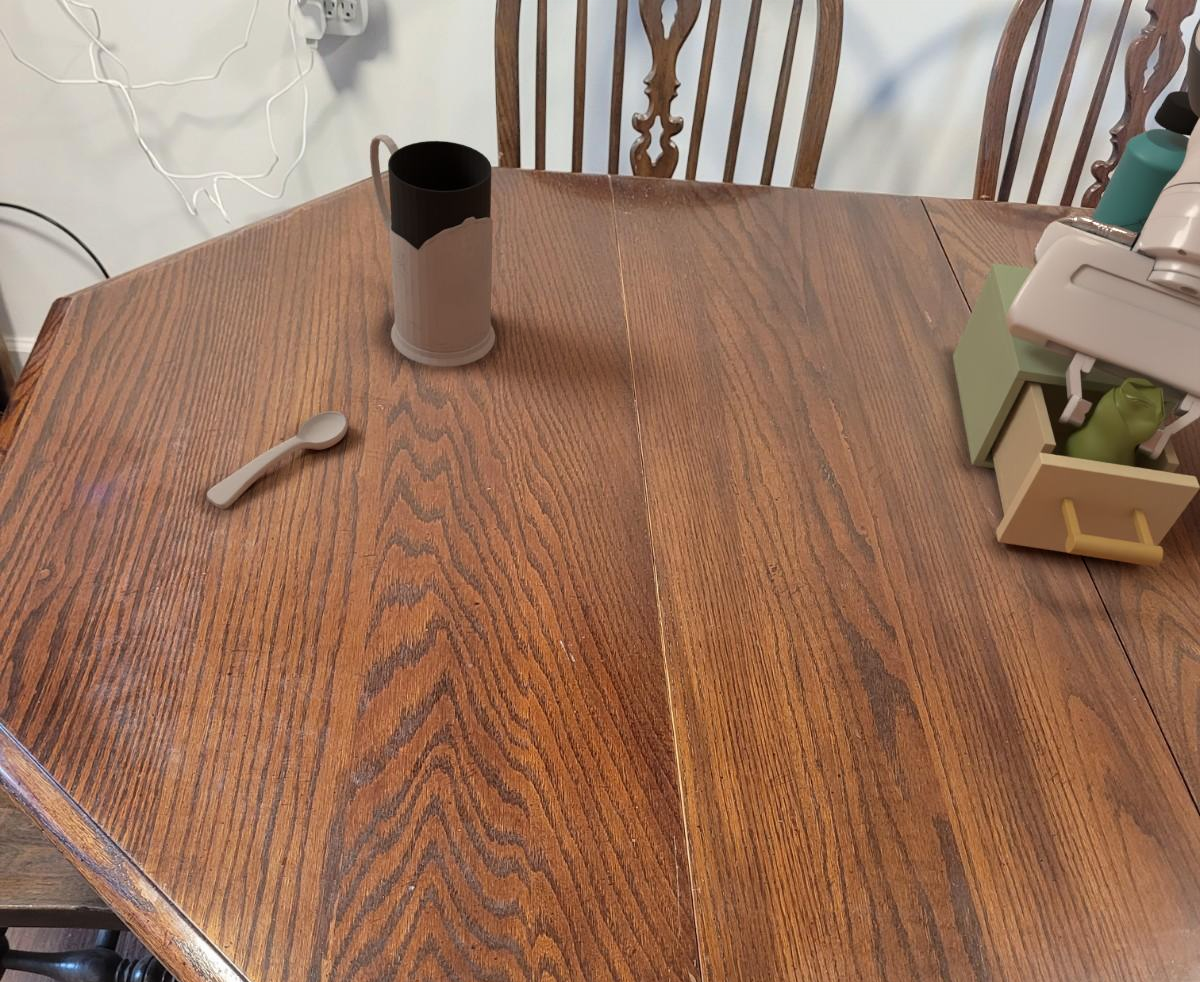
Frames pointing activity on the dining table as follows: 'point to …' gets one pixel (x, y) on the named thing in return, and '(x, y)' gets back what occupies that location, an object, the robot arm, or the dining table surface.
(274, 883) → the dining table surface
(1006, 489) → the drawer
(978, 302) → the cabinet
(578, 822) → the dining table surface
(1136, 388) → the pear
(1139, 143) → the beverage bottle
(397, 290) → the glass holder
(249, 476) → the spoon
